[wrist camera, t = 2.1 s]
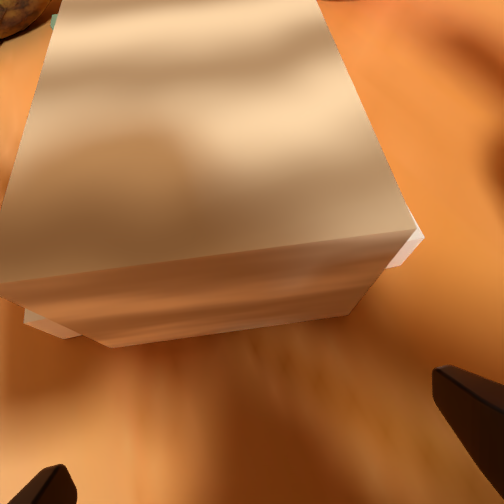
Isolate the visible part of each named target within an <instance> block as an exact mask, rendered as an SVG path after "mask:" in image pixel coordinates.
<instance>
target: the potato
mask: <svg viewBox="0 0 504 504" xmlns="http://www.w3.org/2000/svg"><path fill="white" fill-rule="evenodd" d="M50 1H51V0H0V39H2V38H5V37H8V36H10V35H12V34H15V33H17V32H18V31H20V30H24V29H26V28H27V26H29V25H30V24H31V23H32V22H34V21H35V20H36V19H37V18H38V17H39V16H40V15H41V14H42V12H43V11H44V10H45V8H46V7H47V5H48V4H49V2H50Z"/></svg>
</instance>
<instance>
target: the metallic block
mask: <svg viewBox="0 0 504 504" xmlns="http://www.w3.org/2000/svg"><path fill="white" fill-rule="evenodd" d="M416 229H417V227H416V225H415V223H414V221H413V218H412V216H411V214H410V212H409V209H408V207H407V205H406V203H405V200H404V198H403V196H402V193H401V191H400V189H399V187H398V184H397V182H396V180H395V178H394V175H393V173H392V171H391V169H390V166H389V164H388V162H387V160H386V157H385V155H384V153H383V150H382V148H381V146H380V144H379V141H378V139H377V137H376V135H375V132H374V130H373V128H372V126H371V123H370V121H369V119H368V117H367V114H366V112H365V110H364V107H363V105H362V103H361V101H360V98H359V96H358V94H357V92H356V89H355V87H354V85H353V83H352V80H351V78H350V76H349V74H348V71H347V69H346V67H345V64H344V62H343V60H342V58H341V55H340V53H339V51H338V49H337V46H336V44H335V42H334V40H333V37H332V35H331V33H330V31H329V28H328V26H327V24H326V21H325V19H324V17H323V15H322V12H321V10H320V8H319V6H318V3H317V1H316V0H62V3H61V6H60V9H59V13H58V16H57V20H56V23H55V26H54V30H53V33H52V37H51V40H50V43H49V47H48V50H47V54H46V57H45V60H44V64H43V67H42V71H41V74H40V77H39V81H38V84H37V88H36V91H35V94H34V98H33V101H32V105H31V108H30V111H29V115H28V118H27V122H26V125H25V128H24V132H23V135H22V139H21V142H20V145H19V149H18V152H17V156H16V159H15V162H14V166H13V169H12V173H11V176H10V179H9V183H8V186H7V190H6V193H5V196H4V200H3V203H2V207H1V210H0V297H2V298H4V299H7V300H9V301H11V302H13V303H15V304H17V305H19V306H21V307H24V308H26V309H28V310H30V311H32V312H34V313H36V314H39V315H41V316H43V317H45V318H47V319H49V320H51V321H53V322H56V323H58V324H60V325H62V326H64V327H66V328H68V329H71V330H73V331H75V332H77V333H79V334H81V335H83V336H85V337H88V338H90V339H92V340H94V341H96V342H98V343H100V344H102V345H105V346H107V347H109V348H117V347H124V346H132V345H139V344H146V343H153V342H160V341H167V340H175V339H182V338H189V337H196V336H203V335H210V334H218V333H225V332H232V331H239V330H246V329H253V328H261V327H268V326H275V325H282V324H289V323H296V322H304V321H311V320H318V319H325V318H332V317H339V316H347V315H349V313H350V312H351V311H352V310H353V308H354V307H355V306H356V305H357V303H358V302H359V301H360V300H361V298H362V297H363V296H364V294H365V293H366V292H367V291H368V289H369V288H370V287H371V286H372V284H373V283H374V282H375V281H376V279H377V278H378V277H379V276H380V274H381V273H382V272H383V271H384V269H385V268H386V267H387V266H388V264H389V263H390V262H391V260H392V259H393V258H394V257H395V255H396V254H397V253H398V252H399V250H400V249H401V248H402V247H403V245H404V244H405V243H406V242H407V240H408V239H409V238H410V237H411V235H412V234H413V233H414V232H415V230H416Z"/></svg>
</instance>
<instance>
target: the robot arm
mask: <svg viewBox="0 0 504 504" xmlns="http://www.w3.org/2000/svg"><path fill="white" fill-rule="evenodd" d="M432 394H433V399H434V401H435V403H436V405H437V407H438V408H439V410H440V411H441V413H442V414H443V416H444V417H445V419H446V420H447V422H448V423H449V425H450V426H451V428H452V429H453V431H454V432H455V434H456V435H457V437H458V438H459V440H460V441H461V443H462V444H463V446H464V447H465V449H466V450H467V452H468V453H469V455H470V456H471V458H472V459H473V460H474V462H475V463H476V465H477V466H478V468H479V469H480V470H481V471H482V473H483V474H484V475H485V477H486V478H487V479H488V481H489V482H490V483H491V484H492V486H493V487H494V488H495V489H496V491H497V492H498V493H499V494H500V496H501V497H502V498H503V499H504V385H502V384H499V383H497V382H494V381H491V380H489V379H486V378H484V377H481V376H479V375H476V374H473V373H471V372H468V371H466V370H463V369H460V368H458V367H455V366H452V365H444V366H440V367H436V368H434V369H433V371H432ZM76 503H77V489H76V486H75V484H74V482H73V480H72V478H71V476H70V474H69V472H68V470H67V468H66V466H64V465H63V464H58V465H54V466H50V467H47V468H44V469H43V470H41V471H40V472H39V473H38V474H37V475H36V476H35V477H34V478H33V479H32V480H31V481H30V482H29V483H28V484H27V485H26V486H25V487H24V488H23V489H22V490H21V491H20V492H19V493H18V494H17V495H16V496H15V497H14V498H13V499H12V500H11V501H10V502H9V503H8V504H76Z"/></svg>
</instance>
